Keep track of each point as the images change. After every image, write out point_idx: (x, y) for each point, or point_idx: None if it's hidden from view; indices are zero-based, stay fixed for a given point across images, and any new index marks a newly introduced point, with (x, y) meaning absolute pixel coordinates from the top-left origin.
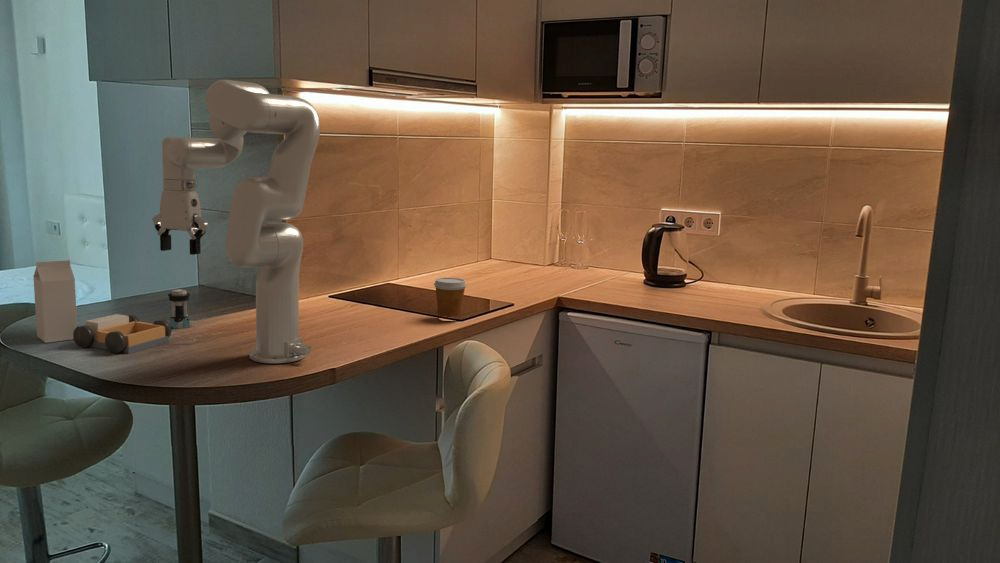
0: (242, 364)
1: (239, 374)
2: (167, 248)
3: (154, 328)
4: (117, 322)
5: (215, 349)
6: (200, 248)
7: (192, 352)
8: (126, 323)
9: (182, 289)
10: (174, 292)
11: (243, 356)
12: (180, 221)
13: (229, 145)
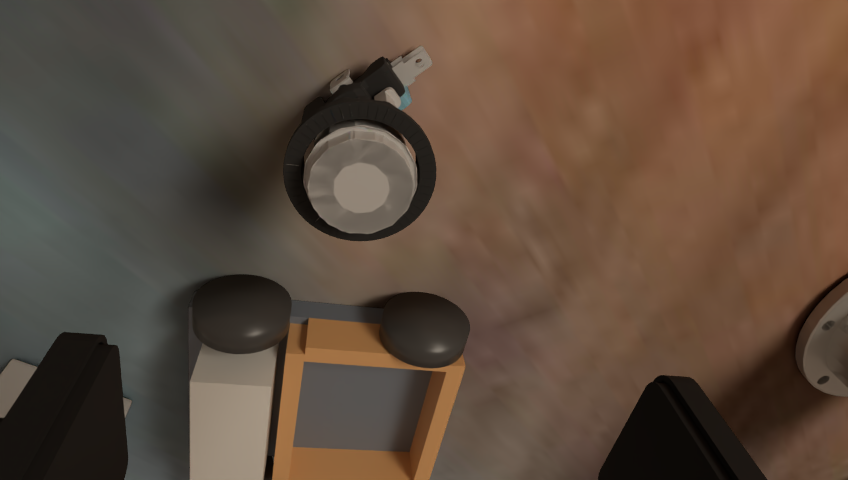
0: (781, 406)
1: (787, 460)
2: (116, 422)
3: (445, 400)
4: (269, 417)
5: (662, 325)
6: (728, 427)
7: (601, 373)
8: (288, 388)
9: (358, 143)
10: (359, 230)
11: (771, 352)
12: None
13: None
